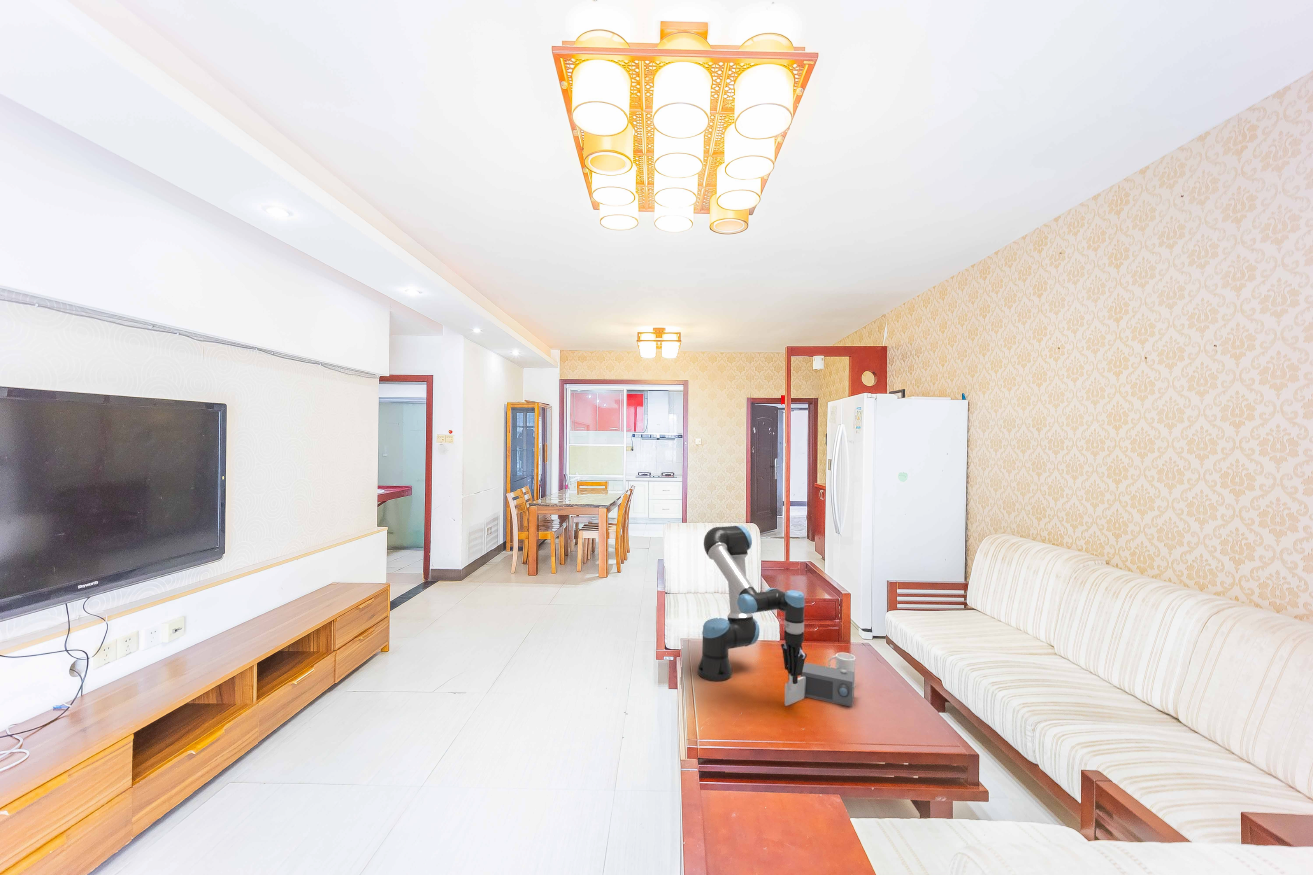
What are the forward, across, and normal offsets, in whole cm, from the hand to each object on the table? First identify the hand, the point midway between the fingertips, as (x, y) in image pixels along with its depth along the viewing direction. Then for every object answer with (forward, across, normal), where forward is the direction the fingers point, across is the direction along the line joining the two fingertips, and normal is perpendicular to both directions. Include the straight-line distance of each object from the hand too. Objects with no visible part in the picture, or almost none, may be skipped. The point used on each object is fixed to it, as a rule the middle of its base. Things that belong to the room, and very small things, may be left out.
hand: (792, 690), depth 213 cm
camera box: (+6, -1, +19) cm, 20 cm away
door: (+6, -3, +3) cm, 7 cm away
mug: (+6, -8, +34) cm, 35 cm away
